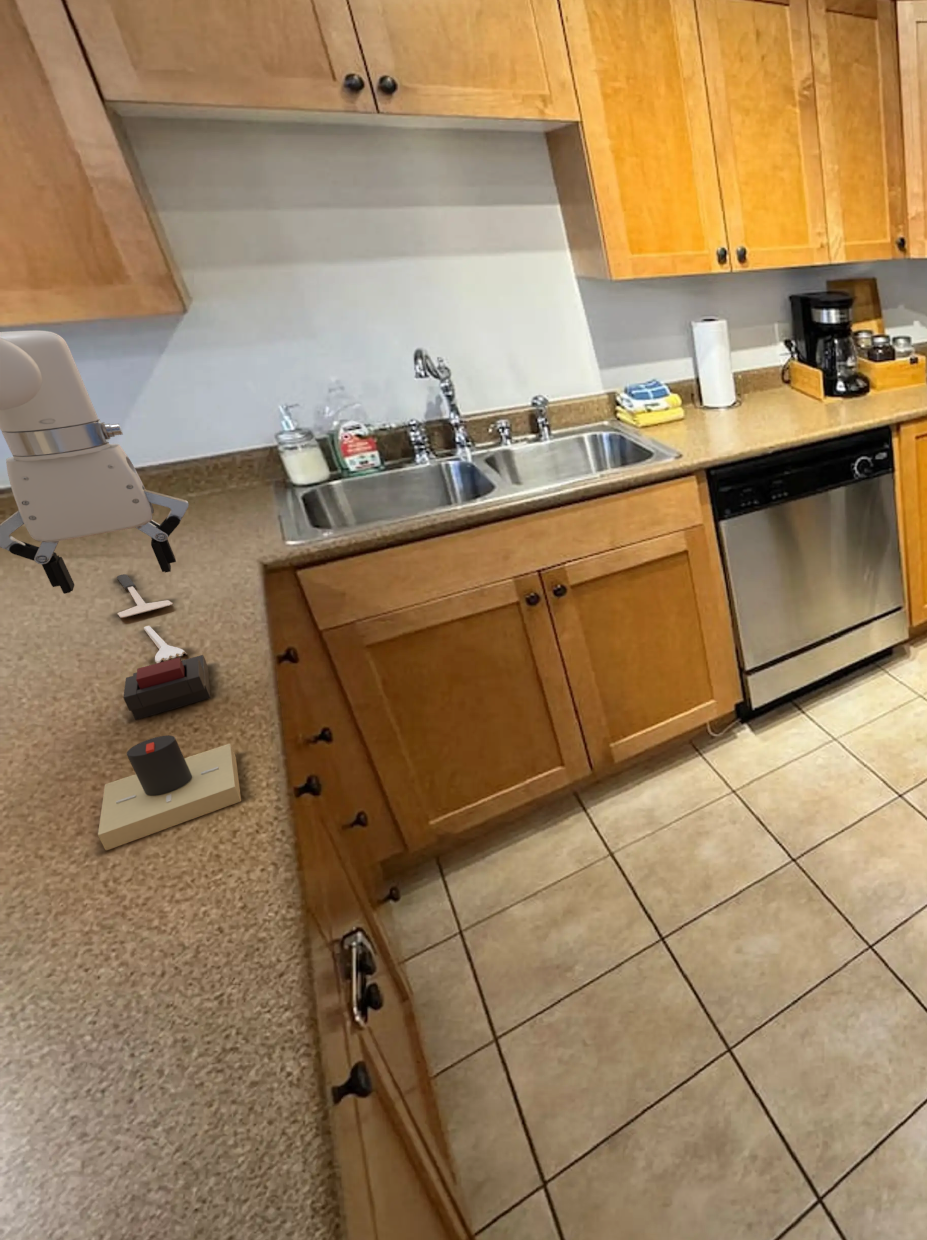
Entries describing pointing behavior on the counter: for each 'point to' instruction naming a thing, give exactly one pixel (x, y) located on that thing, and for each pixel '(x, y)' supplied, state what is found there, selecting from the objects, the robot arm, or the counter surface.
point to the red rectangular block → (160, 673)
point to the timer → (168, 799)
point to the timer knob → (159, 765)
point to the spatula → (138, 599)
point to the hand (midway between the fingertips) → (119, 578)
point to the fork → (163, 647)
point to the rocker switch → (169, 690)
